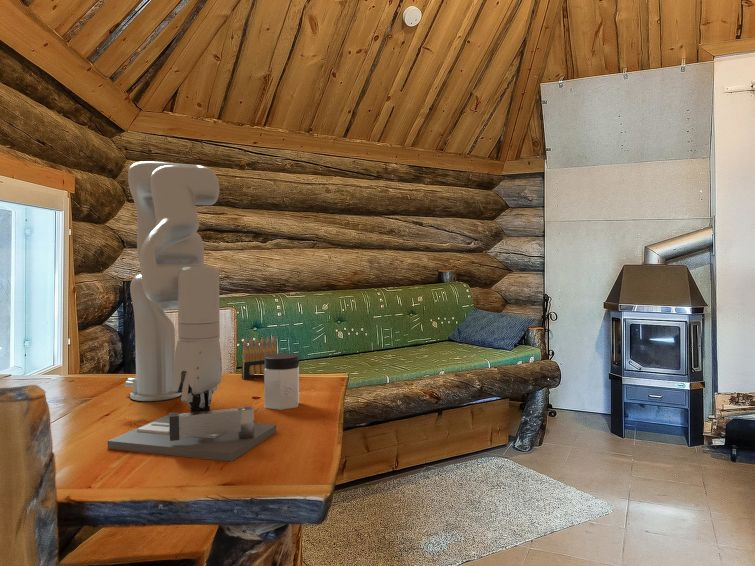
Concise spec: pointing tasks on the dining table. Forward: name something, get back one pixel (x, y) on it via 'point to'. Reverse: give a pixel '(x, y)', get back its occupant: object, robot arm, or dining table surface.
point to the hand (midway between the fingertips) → (200, 426)
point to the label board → (189, 442)
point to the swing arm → (212, 423)
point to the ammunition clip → (256, 357)
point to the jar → (281, 381)
